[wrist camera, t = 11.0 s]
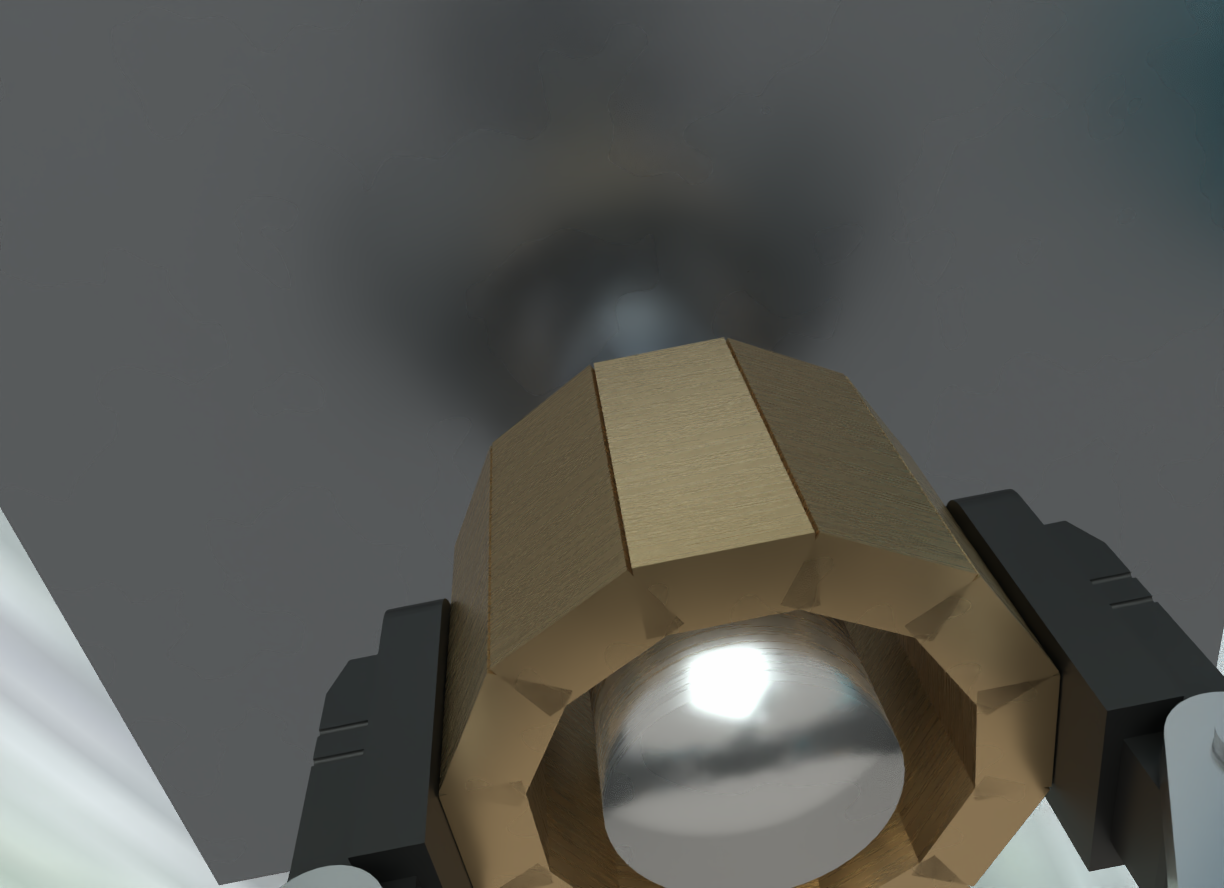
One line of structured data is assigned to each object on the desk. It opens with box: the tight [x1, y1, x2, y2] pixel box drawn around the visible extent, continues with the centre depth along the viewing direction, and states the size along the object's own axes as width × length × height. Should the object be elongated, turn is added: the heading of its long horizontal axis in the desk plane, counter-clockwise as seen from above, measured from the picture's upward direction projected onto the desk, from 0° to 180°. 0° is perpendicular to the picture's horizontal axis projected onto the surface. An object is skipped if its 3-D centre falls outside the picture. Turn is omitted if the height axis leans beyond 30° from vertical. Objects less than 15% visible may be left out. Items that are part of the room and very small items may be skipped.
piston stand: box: [0, 0, 1224, 888], centre depth 14 cm, size 20×16×9 cm
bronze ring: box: [439, 337, 1060, 888], centre depth 12 cm, size 6×6×4 cm
